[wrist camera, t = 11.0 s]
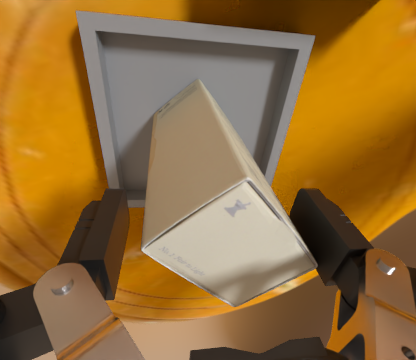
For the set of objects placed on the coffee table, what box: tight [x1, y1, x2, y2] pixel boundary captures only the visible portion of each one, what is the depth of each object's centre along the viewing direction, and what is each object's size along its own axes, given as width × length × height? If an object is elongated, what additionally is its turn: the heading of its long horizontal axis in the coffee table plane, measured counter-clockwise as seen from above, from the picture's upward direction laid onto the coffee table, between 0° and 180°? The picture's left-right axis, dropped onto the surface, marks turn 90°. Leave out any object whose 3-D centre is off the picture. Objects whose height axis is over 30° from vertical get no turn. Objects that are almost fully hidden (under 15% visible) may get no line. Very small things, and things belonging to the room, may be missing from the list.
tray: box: [76, 11, 315, 208], centre depth 18 cm, size 14×14×2 cm
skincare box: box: [141, 79, 318, 307], centre depth 13 cm, size 6×4×12 cm
